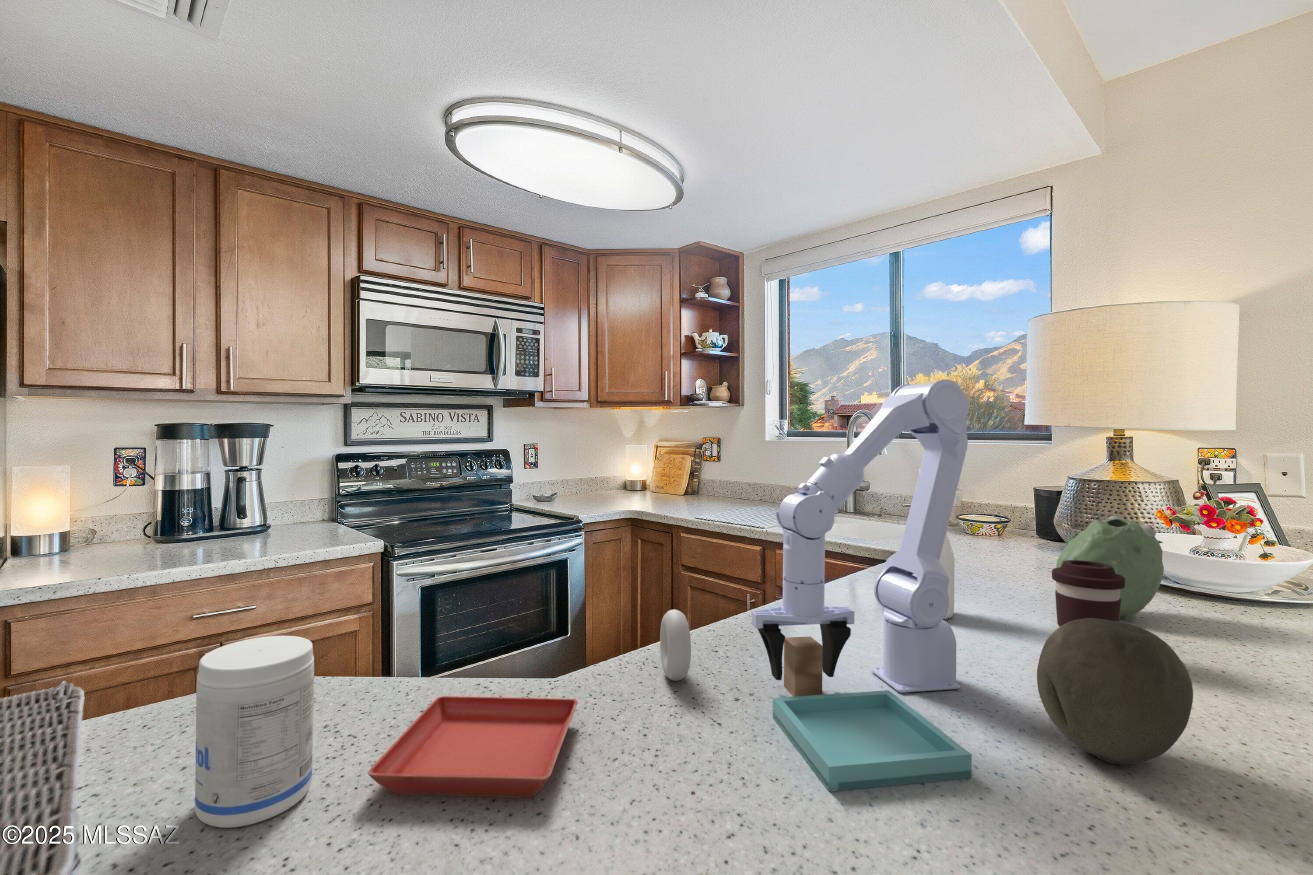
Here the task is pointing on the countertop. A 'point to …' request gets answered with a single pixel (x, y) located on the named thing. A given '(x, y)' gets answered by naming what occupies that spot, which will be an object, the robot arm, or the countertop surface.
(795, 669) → the block
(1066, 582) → the coffee cup
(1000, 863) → the countertop surface
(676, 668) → the donut
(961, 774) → the tray
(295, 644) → the supplement tub
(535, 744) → the plant saucer
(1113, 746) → the grey river stone
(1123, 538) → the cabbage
